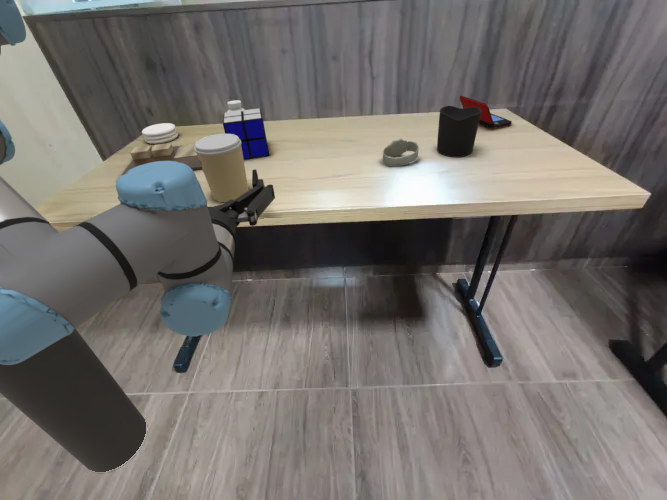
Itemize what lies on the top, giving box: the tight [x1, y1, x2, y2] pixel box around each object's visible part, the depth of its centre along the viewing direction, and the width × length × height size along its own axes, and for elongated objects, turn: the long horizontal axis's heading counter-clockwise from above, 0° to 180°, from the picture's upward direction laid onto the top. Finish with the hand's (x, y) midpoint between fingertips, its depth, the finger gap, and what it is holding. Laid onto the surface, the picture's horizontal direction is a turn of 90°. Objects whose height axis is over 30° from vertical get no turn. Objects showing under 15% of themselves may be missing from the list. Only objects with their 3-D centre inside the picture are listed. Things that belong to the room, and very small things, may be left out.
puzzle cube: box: [222, 107, 270, 160], centre depth 95 cm, size 10×10×10 cm
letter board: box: [120, 142, 202, 176], centre depth 95 cm, size 22×18×3 cm
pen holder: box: [436, 105, 481, 158], centre depth 87 cm, size 9×9×10 cm
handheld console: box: [459, 95, 513, 130], centre depth 103 cm, size 12×11×7 cm
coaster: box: [141, 122, 179, 145], centre depth 110 cm, size 10×10×4 cm
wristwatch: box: [382, 138, 420, 167], centre depth 85 cm, size 9×6×5 cm
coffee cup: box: [194, 133, 249, 203], centre depth 75 cm, size 9×9×12 cm
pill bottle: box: [226, 99, 245, 112], centre depth 107 cm, size 5×5×10 cm
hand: (220, 180), depth 69 cm, fingers open, 13 cm apart
